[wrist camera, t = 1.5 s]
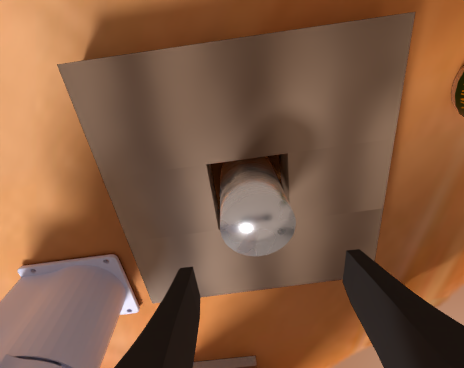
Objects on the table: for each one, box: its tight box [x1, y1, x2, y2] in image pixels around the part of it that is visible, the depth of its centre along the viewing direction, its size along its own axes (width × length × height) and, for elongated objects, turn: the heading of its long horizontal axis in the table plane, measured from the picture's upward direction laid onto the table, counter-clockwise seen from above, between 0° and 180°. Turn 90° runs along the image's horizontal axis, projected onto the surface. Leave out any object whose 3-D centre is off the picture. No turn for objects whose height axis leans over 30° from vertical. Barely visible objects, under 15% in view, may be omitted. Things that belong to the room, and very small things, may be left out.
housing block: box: [57, 12, 415, 303], centre depth 20 cm, size 20×20×3 cm
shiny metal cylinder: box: [220, 156, 296, 256], centre depth 19 cm, size 4×4×7 cm
